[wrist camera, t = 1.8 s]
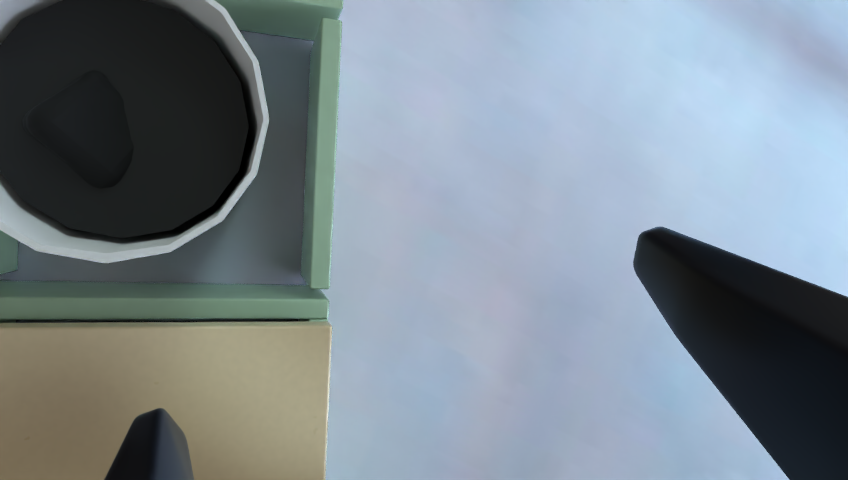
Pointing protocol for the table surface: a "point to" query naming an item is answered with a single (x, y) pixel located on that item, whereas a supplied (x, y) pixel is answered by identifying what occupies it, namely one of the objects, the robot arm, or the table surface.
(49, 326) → the sliding lid
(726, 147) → the table surface
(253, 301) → the storage box
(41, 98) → the white cup
